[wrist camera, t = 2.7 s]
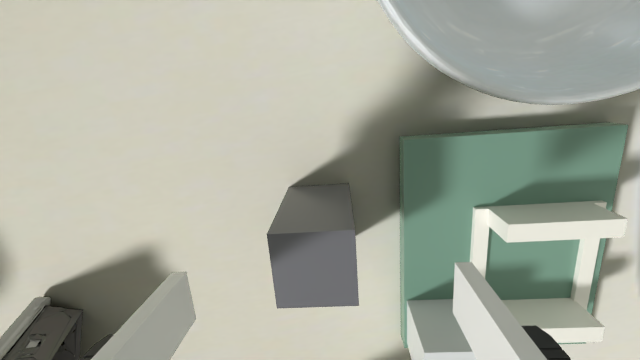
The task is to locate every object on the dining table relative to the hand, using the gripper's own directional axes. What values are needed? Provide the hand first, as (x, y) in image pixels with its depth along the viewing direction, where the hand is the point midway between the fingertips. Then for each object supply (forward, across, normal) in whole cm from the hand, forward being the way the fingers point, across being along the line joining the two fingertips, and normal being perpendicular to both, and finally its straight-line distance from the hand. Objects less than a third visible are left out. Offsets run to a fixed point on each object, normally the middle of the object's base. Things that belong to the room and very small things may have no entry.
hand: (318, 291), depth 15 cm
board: (+10, +13, -3) cm, 16 cm away
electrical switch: (+9, -24, -11) cm, 28 cm away
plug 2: (+8, +8, -9) cm, 14 cm away
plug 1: (+9, 0, 0) cm, 9 cm away
